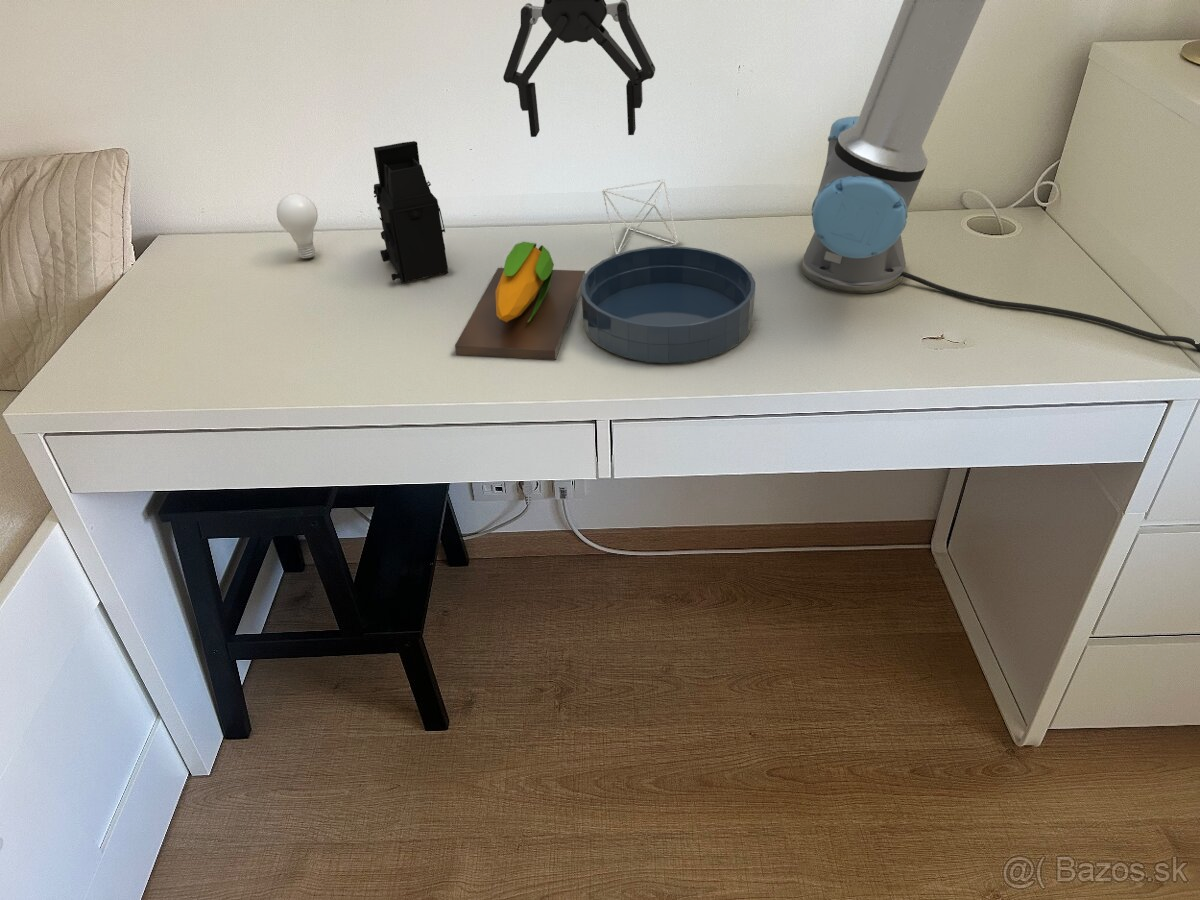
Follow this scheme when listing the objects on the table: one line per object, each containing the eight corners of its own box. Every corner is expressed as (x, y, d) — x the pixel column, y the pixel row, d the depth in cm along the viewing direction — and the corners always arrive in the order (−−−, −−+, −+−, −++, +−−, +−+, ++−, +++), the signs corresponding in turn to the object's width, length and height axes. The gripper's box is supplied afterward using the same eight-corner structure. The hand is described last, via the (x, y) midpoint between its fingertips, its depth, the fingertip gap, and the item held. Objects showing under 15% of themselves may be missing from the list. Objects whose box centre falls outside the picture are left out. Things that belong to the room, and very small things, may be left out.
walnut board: (585, 279, 140) (585, 270, 139) (555, 359, 122) (554, 350, 121) (498, 276, 142) (497, 267, 142) (456, 354, 124) (454, 345, 123)
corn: (556, 227, 134) (528, 289, 118) (562, 274, 138) (537, 340, 123) (508, 230, 135) (474, 291, 119) (516, 276, 140) (485, 341, 124)
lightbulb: (335, 254, 151) (321, 191, 145) (307, 269, 147) (291, 205, 140) (309, 247, 154) (293, 184, 147) (281, 261, 150) (263, 198, 143)
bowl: (754, 285, 137) (756, 248, 133) (750, 370, 118) (753, 330, 114) (597, 279, 140) (596, 243, 136) (569, 361, 121) (566, 322, 118)
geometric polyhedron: (598, 234, 154) (596, 182, 148) (657, 223, 156) (657, 172, 151) (622, 264, 144) (620, 210, 139) (685, 252, 147) (686, 199, 141)
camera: (431, 243, 154) (412, 123, 141) (456, 273, 144) (437, 148, 131) (374, 255, 150) (349, 135, 138) (395, 288, 140) (370, 161, 128)
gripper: (673, -49, 113) (674, 122, 126) (480, -40, 116) (501, 126, 129) (669, -39, 107) (671, 140, 120) (466, -30, 110) (489, 143, 123)
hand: (583, 133), depth 124 cm, fingers open, 13 cm apart
